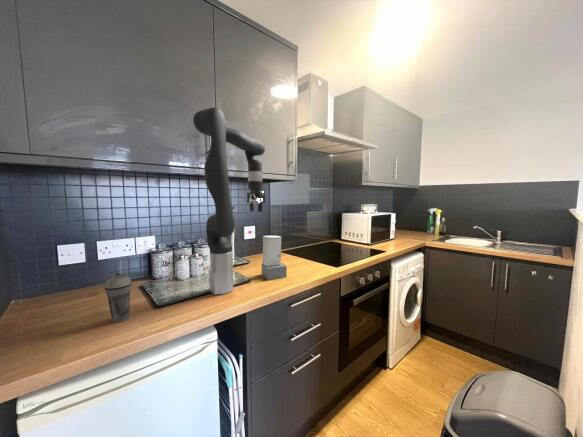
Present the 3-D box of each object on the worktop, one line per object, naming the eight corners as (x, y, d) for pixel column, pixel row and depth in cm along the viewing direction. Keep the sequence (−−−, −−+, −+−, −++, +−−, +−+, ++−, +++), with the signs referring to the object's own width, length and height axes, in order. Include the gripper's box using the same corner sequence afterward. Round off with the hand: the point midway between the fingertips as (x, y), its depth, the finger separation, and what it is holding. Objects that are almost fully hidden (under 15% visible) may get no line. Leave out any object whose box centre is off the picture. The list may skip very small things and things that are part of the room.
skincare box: (266, 266, 117) (266, 237, 116) (262, 263, 122) (262, 235, 121) (281, 264, 120) (281, 236, 119) (276, 262, 126) (277, 234, 125)
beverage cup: (105, 319, 78) (101, 260, 76) (131, 311, 83) (127, 256, 82) (108, 327, 73) (104, 264, 71) (136, 318, 78) (132, 260, 76)
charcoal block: (267, 280, 114) (267, 268, 114) (261, 274, 123) (261, 263, 123) (286, 277, 119) (286, 266, 118) (279, 272, 128) (279, 261, 127)
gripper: (242, 181, 126) (243, 211, 127) (256, 179, 115) (256, 212, 116) (254, 181, 131) (255, 210, 132) (268, 180, 120) (269, 211, 121)
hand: (255, 211), depth 124 cm, fingers open, 8 cm apart
